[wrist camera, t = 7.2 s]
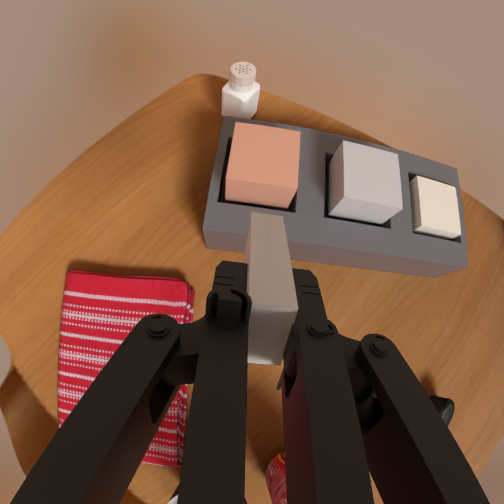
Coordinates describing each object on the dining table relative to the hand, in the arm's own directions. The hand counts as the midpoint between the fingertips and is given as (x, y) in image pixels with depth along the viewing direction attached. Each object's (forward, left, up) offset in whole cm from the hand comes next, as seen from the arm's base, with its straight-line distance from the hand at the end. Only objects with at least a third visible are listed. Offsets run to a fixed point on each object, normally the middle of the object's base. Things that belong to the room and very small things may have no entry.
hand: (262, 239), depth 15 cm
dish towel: (+17, +3, -23) cm, 29 cm away
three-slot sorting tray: (-16, -4, -22) cm, 28 cm away
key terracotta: (-6, -10, -16) cm, 20 cm away
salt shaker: (-10, -23, -22) cm, 34 cm away
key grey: (-16, -4, -16) cm, 23 cm away
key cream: (-25, +1, -19) cm, 31 cm away
